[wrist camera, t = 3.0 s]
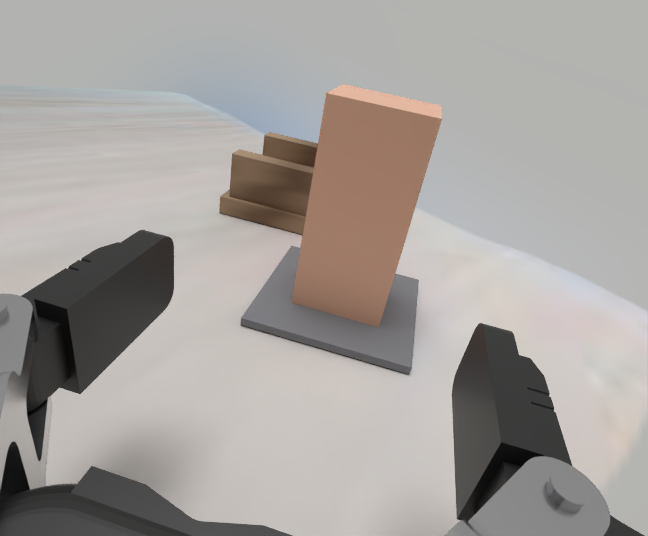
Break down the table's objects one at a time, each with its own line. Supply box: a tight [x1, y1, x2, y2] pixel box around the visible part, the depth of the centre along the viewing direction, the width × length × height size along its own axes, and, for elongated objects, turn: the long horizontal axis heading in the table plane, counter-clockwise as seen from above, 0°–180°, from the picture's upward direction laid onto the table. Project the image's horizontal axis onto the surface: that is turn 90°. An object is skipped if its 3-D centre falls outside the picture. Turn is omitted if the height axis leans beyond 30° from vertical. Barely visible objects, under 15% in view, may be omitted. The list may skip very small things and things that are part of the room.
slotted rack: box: [220, 132, 318, 235], centre depth 32 cm, size 9×8×4 cm
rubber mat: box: [241, 246, 419, 374], centre depth 23 cm, size 8×8×1 cm
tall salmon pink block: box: [292, 84, 442, 327], centre depth 20 cm, size 4×4×10 cm
